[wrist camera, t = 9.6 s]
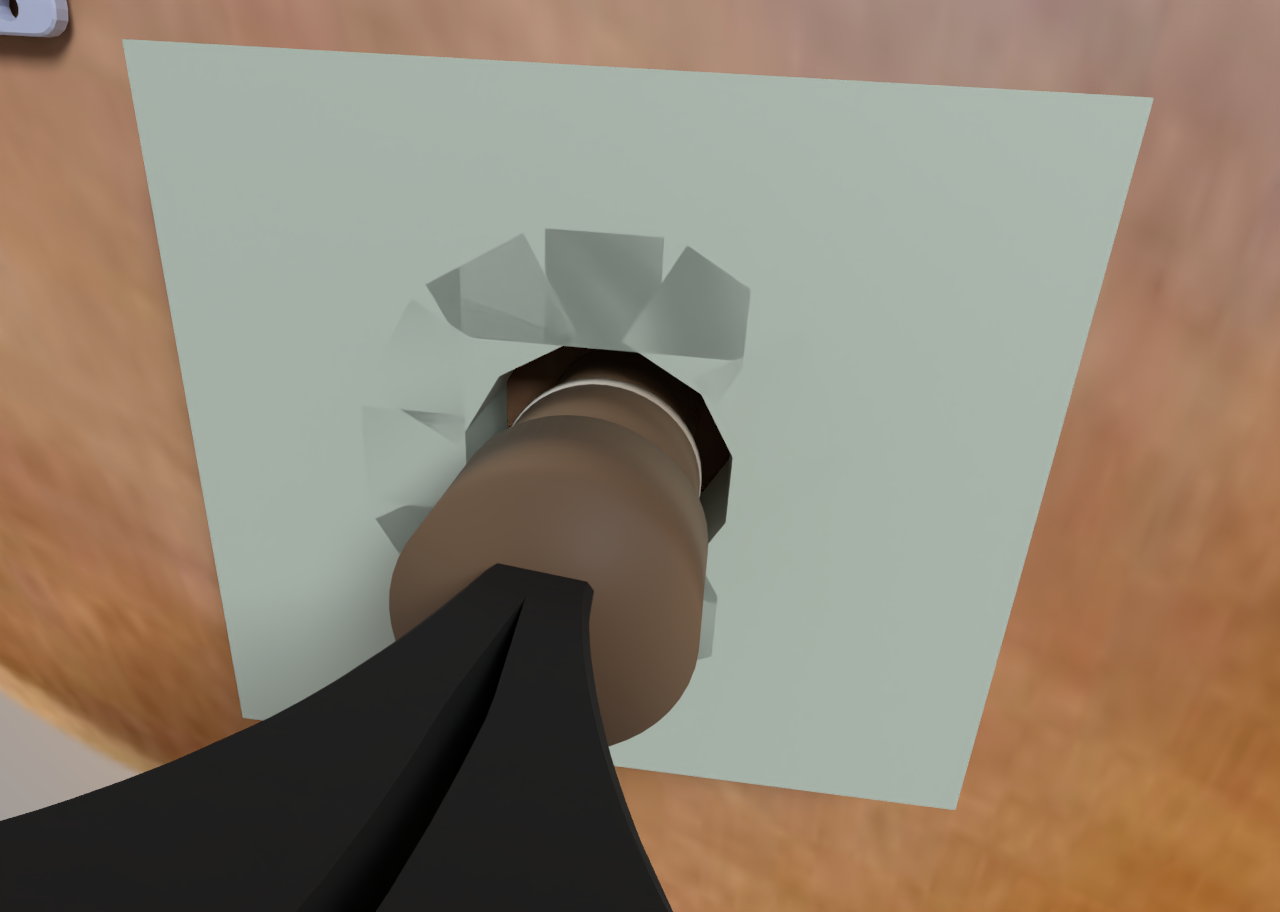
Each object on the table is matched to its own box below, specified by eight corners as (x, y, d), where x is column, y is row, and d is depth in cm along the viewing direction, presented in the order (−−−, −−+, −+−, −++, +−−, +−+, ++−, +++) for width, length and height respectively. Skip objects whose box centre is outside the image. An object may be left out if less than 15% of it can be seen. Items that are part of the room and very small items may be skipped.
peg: (517, 476, 19) (376, 709, 12) (546, 301, 18) (404, 451, 10) (693, 521, 19) (660, 783, 12) (741, 349, 17) (735, 533, 10)
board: (305, 639, 22) (243, 718, 19) (227, 48, 16) (122, 39, 14) (928, 714, 21) (955, 810, 18) (1079, 96, 15) (1153, 97, 12)
